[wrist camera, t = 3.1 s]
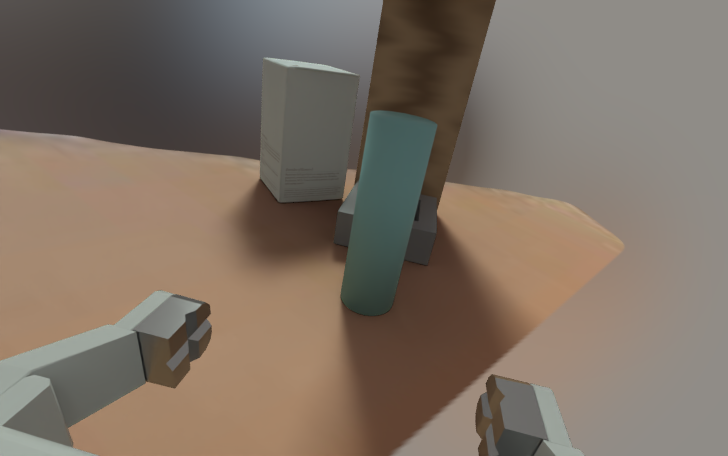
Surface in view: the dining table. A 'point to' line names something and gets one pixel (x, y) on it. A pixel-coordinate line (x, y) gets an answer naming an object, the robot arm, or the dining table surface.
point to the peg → (385, 208)
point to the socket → (420, 231)
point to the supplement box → (306, 129)
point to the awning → (428, 70)
